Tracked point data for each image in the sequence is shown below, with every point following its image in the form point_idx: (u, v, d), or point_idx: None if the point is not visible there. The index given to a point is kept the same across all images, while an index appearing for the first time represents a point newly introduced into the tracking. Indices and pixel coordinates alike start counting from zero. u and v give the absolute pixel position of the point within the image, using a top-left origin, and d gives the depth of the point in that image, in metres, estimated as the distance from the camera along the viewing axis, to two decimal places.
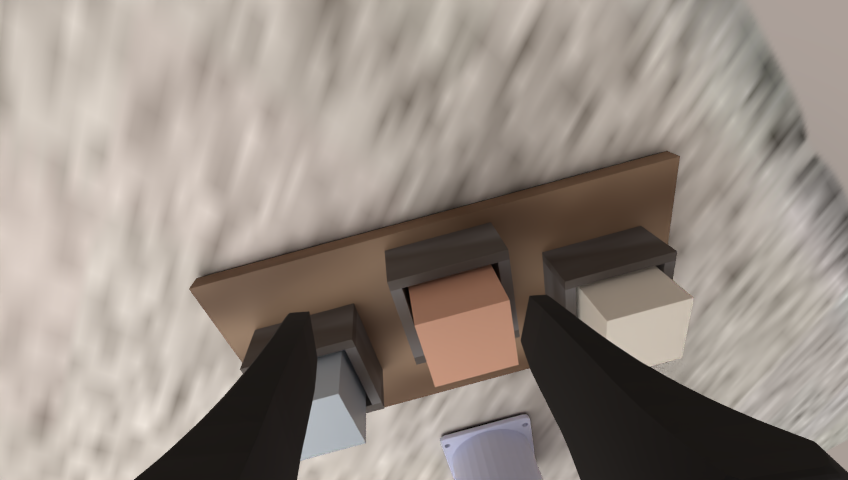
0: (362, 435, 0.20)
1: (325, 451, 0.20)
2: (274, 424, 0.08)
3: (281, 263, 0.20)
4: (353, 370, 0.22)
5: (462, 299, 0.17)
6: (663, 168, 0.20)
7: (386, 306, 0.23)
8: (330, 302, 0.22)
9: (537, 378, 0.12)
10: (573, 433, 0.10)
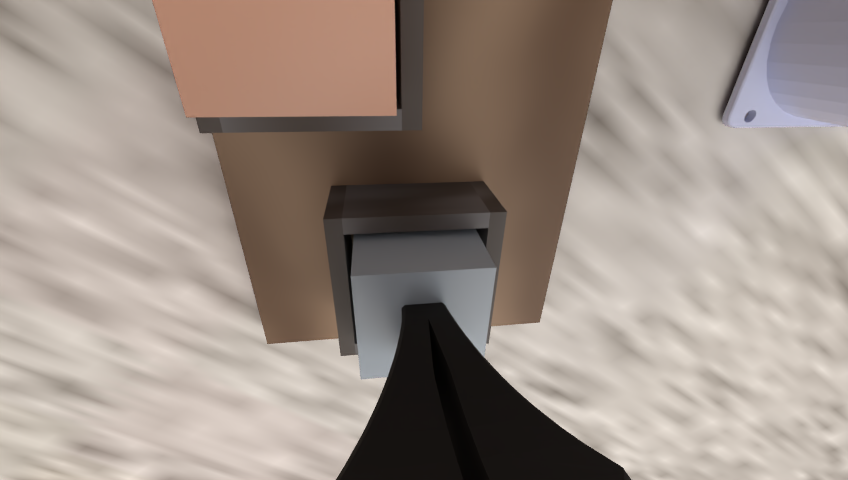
0: (477, 267, 0.11)
1: (482, 323, 0.12)
2: None
3: (244, 252, 0.15)
4: None
5: None
6: None
7: (350, 139, 0.14)
8: (321, 215, 0.15)
9: None
10: None
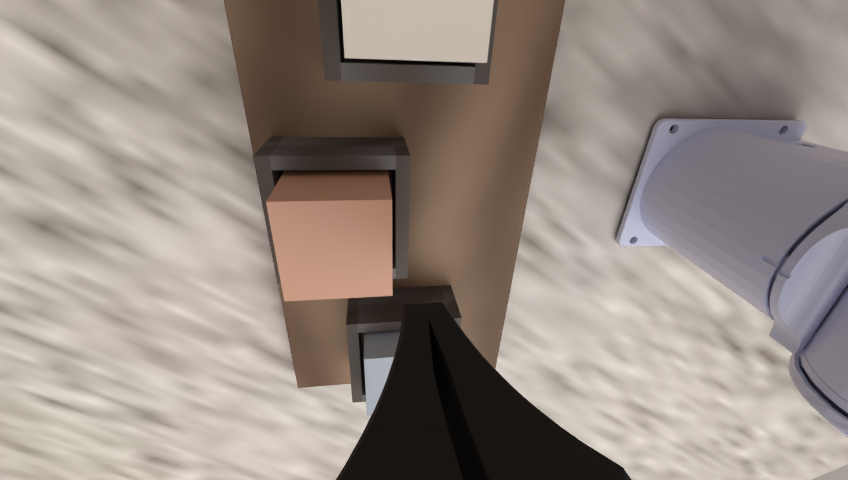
0: None
1: None
2: None
3: (287, 329, 0.23)
4: None
5: None
6: None
7: None
8: (341, 307, 0.22)
9: None
10: None
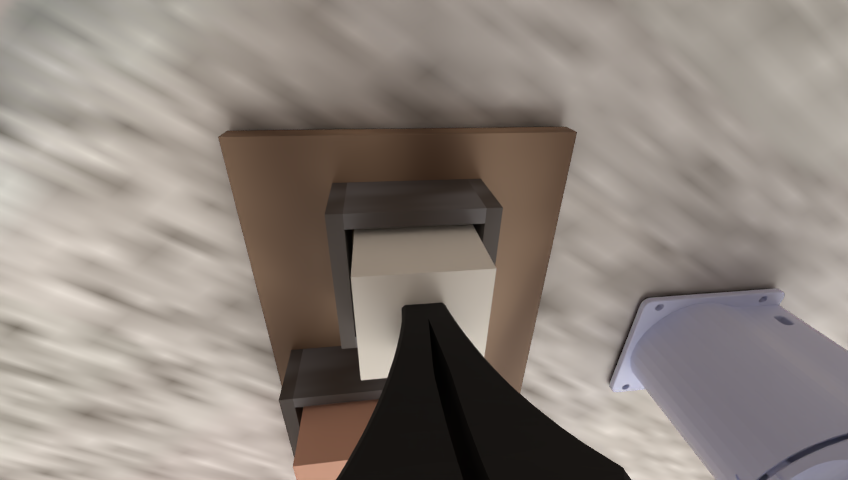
0: None
1: None
2: None
3: None
4: None
5: None
6: (237, 160, 0.14)
7: None
8: None
9: None
10: None
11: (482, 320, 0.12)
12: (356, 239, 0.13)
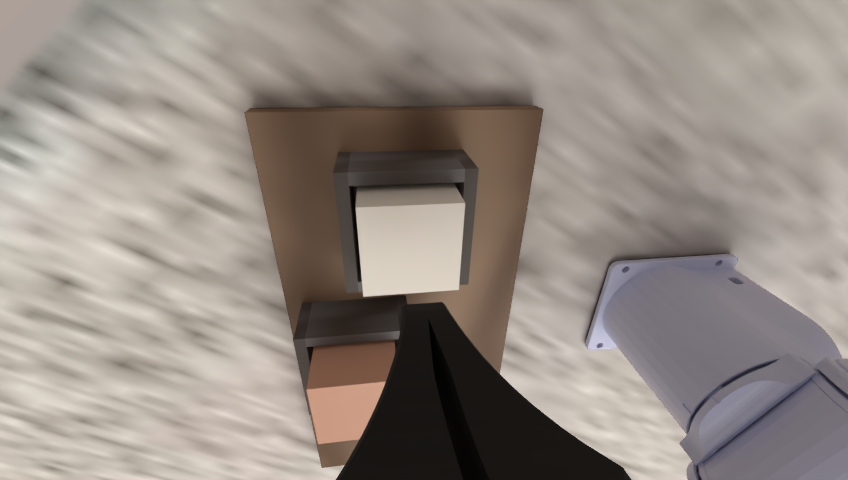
0: None
1: None
2: None
3: (313, 427, 0.28)
4: None
5: None
6: (259, 132, 0.17)
7: None
8: None
9: None
10: None
11: (456, 246, 0.16)
12: (359, 186, 0.16)
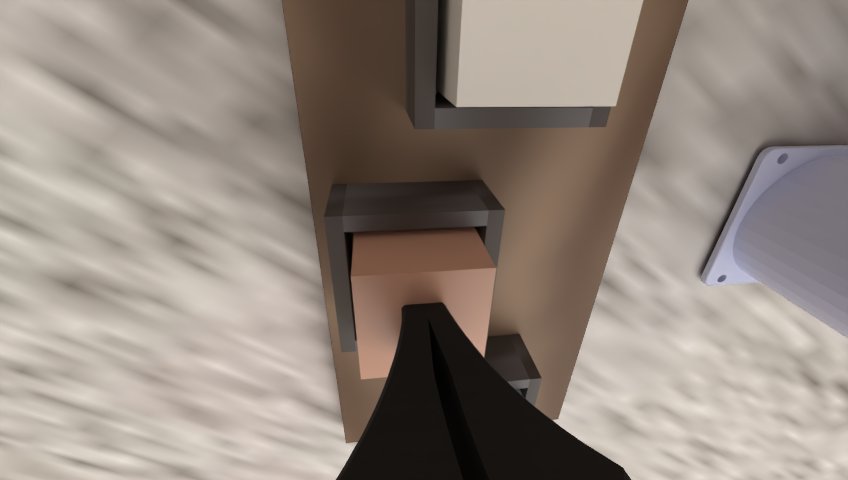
0: None
1: None
2: None
3: (338, 385, 0.20)
4: None
5: None
6: None
7: None
8: None
9: None
10: None
11: (633, 3, 0.09)
12: None
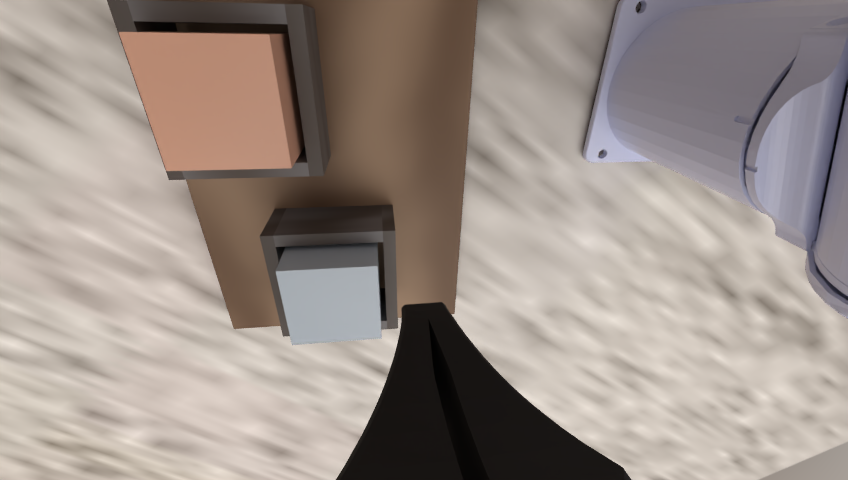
0: (364, 265, 0.16)
1: (374, 305, 0.17)
2: None
3: (211, 257, 0.20)
4: None
5: None
6: None
7: None
8: None
9: None
10: None
11: None
12: None
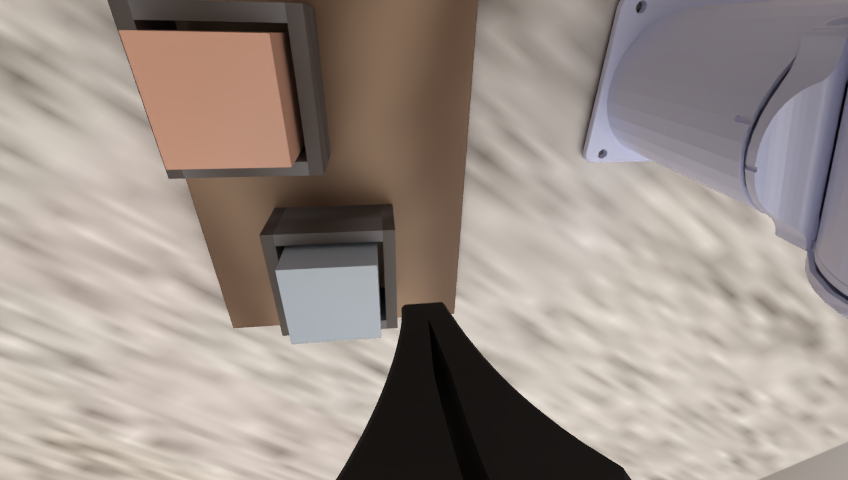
0: (364, 264, 0.16)
1: (374, 304, 0.17)
2: None
3: (211, 256, 0.20)
4: None
5: None
6: None
7: None
8: None
9: None
10: None
11: None
12: None
